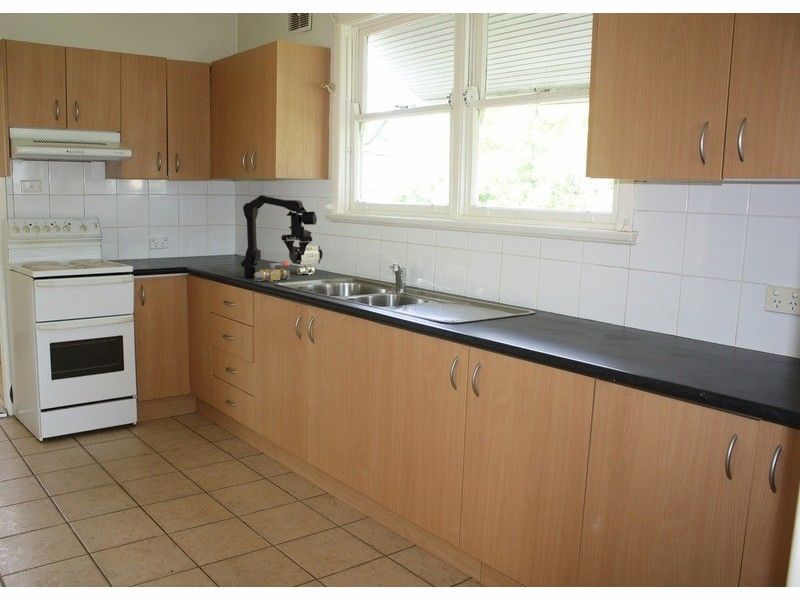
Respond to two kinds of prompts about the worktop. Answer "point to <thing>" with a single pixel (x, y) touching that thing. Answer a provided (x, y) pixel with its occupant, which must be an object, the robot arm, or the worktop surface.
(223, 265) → the worktop surface
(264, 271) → the valve body
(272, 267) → the lever
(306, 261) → the ball valve
